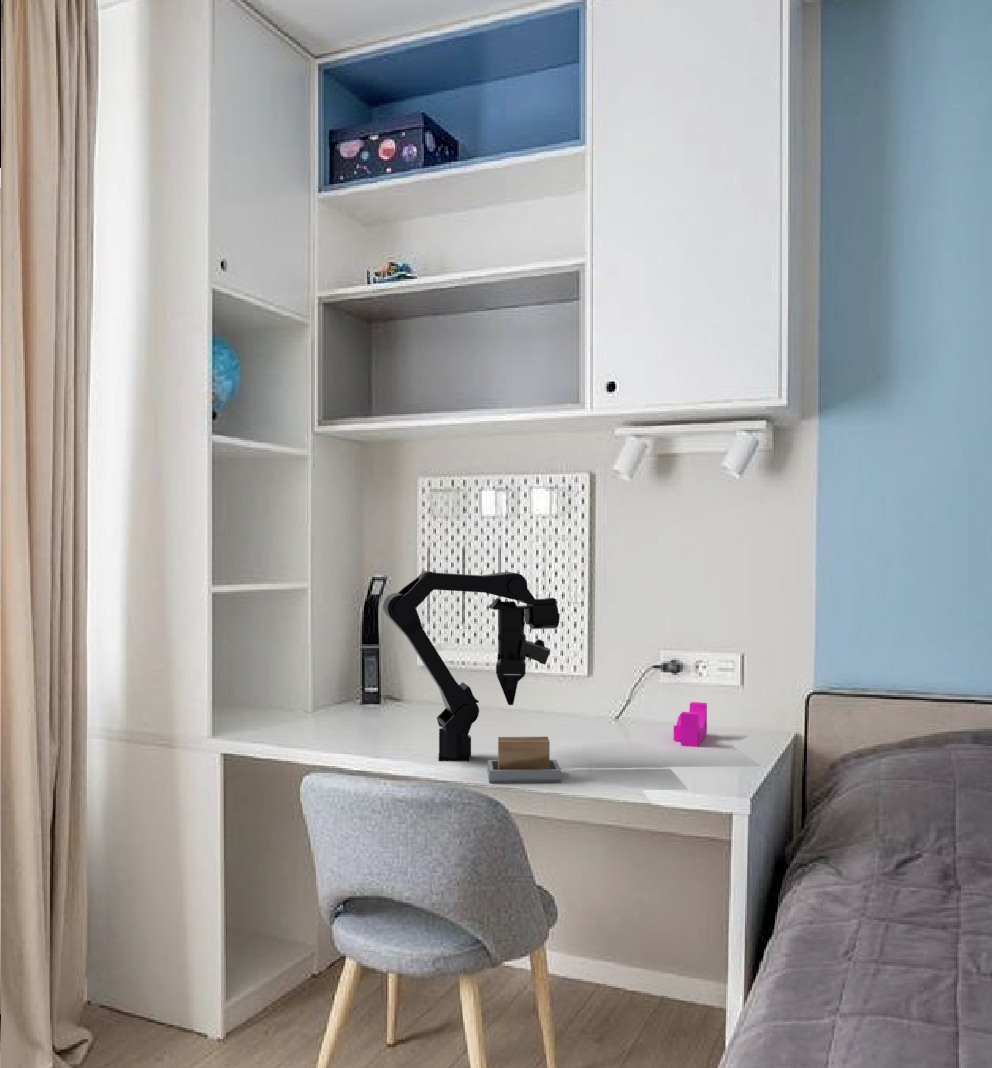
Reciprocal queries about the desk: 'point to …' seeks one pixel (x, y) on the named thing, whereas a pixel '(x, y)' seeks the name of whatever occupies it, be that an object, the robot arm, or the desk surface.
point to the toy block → (692, 725)
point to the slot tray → (524, 774)
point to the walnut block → (523, 753)
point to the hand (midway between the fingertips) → (510, 701)
